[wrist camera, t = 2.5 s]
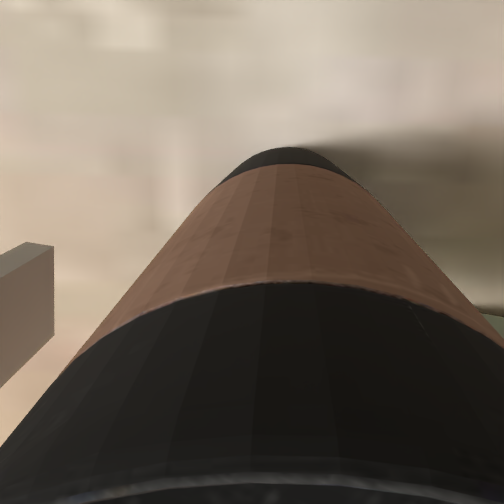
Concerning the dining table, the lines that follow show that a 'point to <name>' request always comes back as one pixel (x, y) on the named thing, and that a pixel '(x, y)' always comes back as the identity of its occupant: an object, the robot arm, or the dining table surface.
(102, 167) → the dining table surface
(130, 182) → the dining table surface
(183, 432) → the travel mug
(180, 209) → the dining table surface
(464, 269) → the dining table surface
